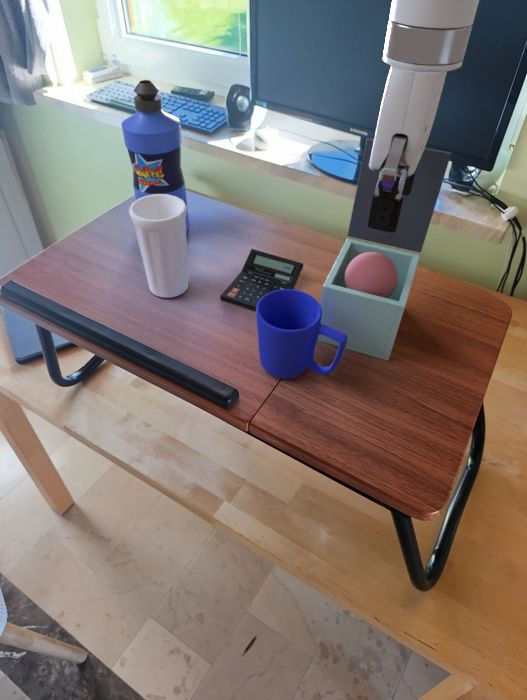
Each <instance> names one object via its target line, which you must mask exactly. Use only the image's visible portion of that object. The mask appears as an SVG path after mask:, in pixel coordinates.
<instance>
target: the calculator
mask: <svg viewBox="0 0 527 700" xmlns="http://www.w3.org/2000/svg"><path fill="white" fill-rule="evenodd" d="M303 268H304V263H303V262H299V261H297V260H293V259H289V258H286V257H281V256H278V255H275V254H272V253H268V252H264V251H261V250H257V249H253V248H251V249H250V251H249V254H248V256H247V258H246V260H245V262H244V265H243V267H242V269H241V271H240V272H239V274H237V276H236V277H235V278H234V279H233V280H232V281H231V283H230V284H229V285H228V286H227V287H226V288H225V290H224V291H223V292H222V293H221V294H220V296H219V297H220V298H219V299H220V301H223V302H225V303H229V304H231V305H234V306H238V307H241V308H244V309H247V310H250V311H253V312H256V306H257V304H258V302H259V300H260V299H261V298H262V297H263V296H264V295H266V294H268V293H270V292H272V291H276V290H281V289H292V290H295V287H296V284H297V282H298V280H299V277H300V275H301V273H302V270H303Z"/></svg>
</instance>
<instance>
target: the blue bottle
mask: <svg viewBox="0 0 527 700" xmlns="http://www.w3.org/2000/svg"><path fill="white" fill-rule="evenodd" d="M133 92H134V94H136V95H135V96H134V97H133V101H134V102H133V103H134V108H135V110H136V111H135V113H134V114H132V115H130V116H128V117H126V118H124V120H122V122H121V129H122V136H123V140H124V146H125V147H126V150H127V154H128V157H129V160H130V163H131V164H130V165H131V167H132V182H133V183H132V185H133V192H134V197H135V201H136V200H137V199H139V198H142V197H144V196H147V195H154V194H168V195H172V196H176V197H178V198H180V199H181V200H183V201H184V203H185V205H186V206H187V207H188V201H187V190H186V181H185V177H184V174H183V170H182V143H183V139H182V127H181V126H182V125H181V121H180V119H179V118H178V117H176V116H174V115H172V114H169V113H167V112H165V111H164V110H162V109H163V99H162V96H161V95H160V94H158V93H159V92H160V88H159V87H158V86H157V85H156V84H155V83H154V82H153V81H151V80H149V79H142V80H140V81H138V83H137V85H136V86H135V87H134V89H133ZM188 211H189V210H188V208H187V212H186V218H185V219H186V233H187V232H189V231H188V230H189V229H190V222H189V221H190V220H189V213H188Z"/></svg>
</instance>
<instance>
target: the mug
mask: <svg viewBox="0 0 527 700" xmlns="http://www.w3.org/2000/svg"><path fill="white" fill-rule="evenodd" d="M255 315H256V317H255V318H256V328H257V342H258V343H257V344H258V355H259V361H260V364H261V366H262V368H263V369H264V371H265V372H266V373H267V374H269V375H270V376H272V377H273V378H274V377H275V378H277V379H282V380H291V379H294V378H297V377H300V376H301V375H302V374H303V373H304V372H306V371H307V369H308V368H309V369H310V370H311V371H313V372H314V373H316V374H318V375H321V376H327V375H329V374H332V372H334V371H335V369H336V368H337V367H338V365H339V363H340V361H341V359H342V357H343V354H344V352H345V346H346V343H347V338H348V337H347V335H346V334H344V333H342V332H340V331H338V330H336V329H333V328H331V327H329V326H326V325H322V324H321V317H322V309H321V306H320V303H319V301H318V300H317V299H316V298H315V297H314V296H312V295H311V294H309V293H307V292H305V291H301V290H299V289H298V290H297V289H293V290H292V289H281V290H276V291H272V292H270V293H268V294H266V295H264V296H263V297H262V298H261V299H260V300H259V302H258V304H257V306H256V311H255ZM319 335H325V336H327V337H330V338H332V339H334V340H336V341H338V342H339V347H338V346H337V351H336V354H335V357H334V360H333V362H332V363H331V364H330V365H329V366H322V365H320V364H318V363H317V362H315V358H314V357H315V356H314V355H315V351H316V347H317V342H318V341H317V339H318V336H319Z"/></svg>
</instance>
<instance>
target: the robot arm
mask: <svg viewBox="0 0 527 700" xmlns="http://www.w3.org/2000/svg"><path fill="white" fill-rule="evenodd" d="M479 3H480V0H392V1H391V5H390V12H389V19H388V24H387V29H386V30H387V31H386V36H385V42H384V49H383V54H382V61H383V62H384V63H385V64H387V65H389V66H390V69H389V72H388V75H387V79H386V83H385V87H384V92H383V94H382V100H381V103H380V110H379V114H378V119H377V122H376V123H377V124H376V128H375V133H374V138H373V139H374V143H373V148H372V152H371V157H370V162H369V168H370V169H371V170H372V171H374V170H375V169H377V170H379V168H380V167H381V165H382V167H381V171H380V175H379V178H378V182H377V186H376V189H375V193H374V194H373V199H372V204H371V209H370V215H369V220H368V227H369V228H371V229H376V230H381V231H386V232H391V233H394V232H395V231H396V229H397V225H398V221H399V216H400V212H401V208H402V203H403V199H404V198H401V196H402V195H409V194H410V192H411V188H412V184H413V180H414V176H415V172H416V168H417V166H418V163H419V161H420V159H421V156H422V154H423V151H424V149H425V148H426V146H427V143H428V141H429V138H430V134H431V132H432V128H433V125H434V122H435V118H436V114H437V112H438V107H439V105H440V100H441V96H442V92H443V89H444V84H445V80H446V77H447V74H448V72H451V71H456V70H457V69H460V68H462V66H463V63H464V59H465V55H466V52H467V48H468V44H469V40H470V36H471V33H472V29H473V25H474V22H475V18H476V14H477V10H478V6H479ZM382 163H383V164H382Z"/></svg>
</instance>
